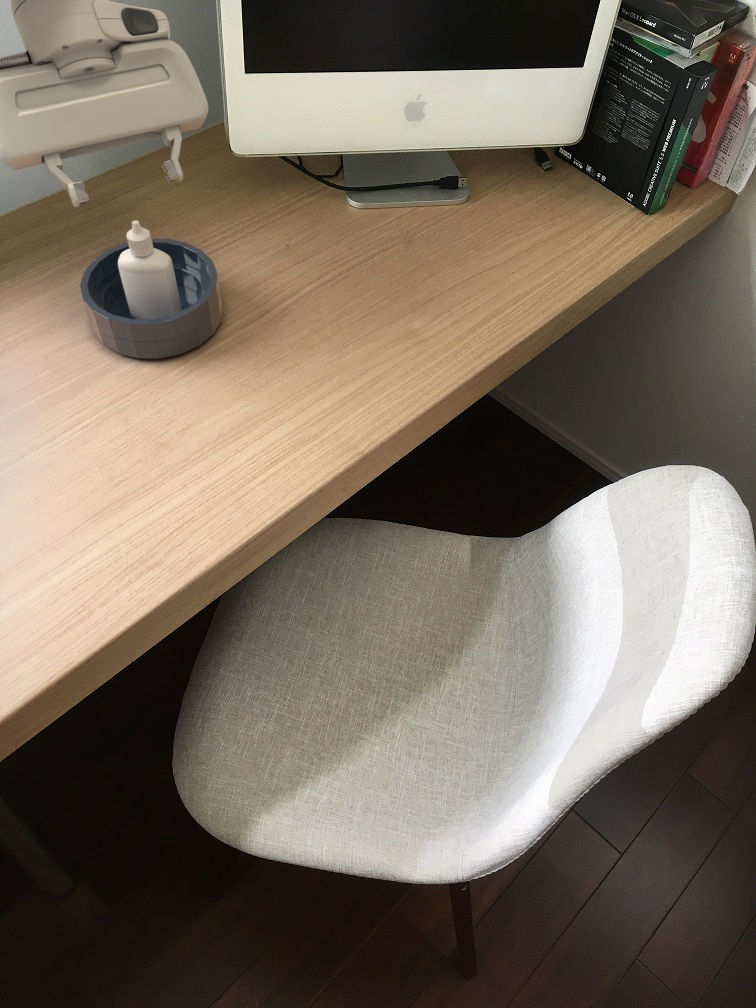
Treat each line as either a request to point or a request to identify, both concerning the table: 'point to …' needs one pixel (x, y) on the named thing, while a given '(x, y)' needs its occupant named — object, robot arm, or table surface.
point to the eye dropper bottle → (147, 277)
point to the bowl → (160, 333)
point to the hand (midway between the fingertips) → (129, 192)
